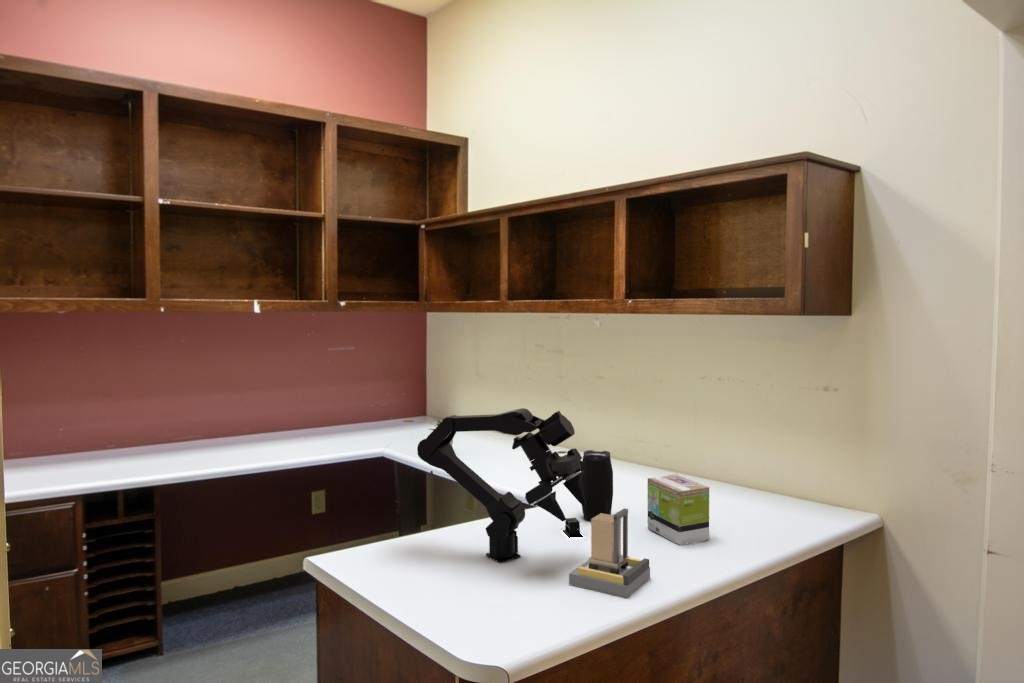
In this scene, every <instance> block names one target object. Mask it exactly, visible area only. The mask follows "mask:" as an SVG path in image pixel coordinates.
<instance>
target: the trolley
mask: <svg viewBox="0 0 1024 683" xmlns="http://www.w3.org/2000/svg"><path fill="white" fill-rule="evenodd" d="M628 516H629V508H622V509H621V510H619V511H618V512H616V513H614V514H611V515H608V514H602V513H600V514H599V515H597V516H595V517H594V518H592V519H590V523H591V525H590V526H591V528H590V532H591V534H590V538H591V539H590V542H591V544H590V546H591V547H590V548H591V551H590V555H591V556H589V557H588V559H587V561H588V563H590V564H589V569H594V570H597V569H598V565H601V566H606V567H611V568H610V573H612V574H617V575H618V574H619V572H620V571H619V568H620V567H621V568H622V569H625V568H627V567H628V561H629V557H630V556H629V555H628V553H629V552H628V551H629V550H628V548H629V547H628V545H629V543H628V542H629V541H628V540H629V539H628V534H629V532H628V531H629V528H628V525H629V523H628V520H629V518H628ZM621 521H622V522H621ZM621 541H622V542H621ZM621 543H622V544H621ZM621 552H622V553H621Z"/></svg>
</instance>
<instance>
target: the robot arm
mask: <svg viewBox="0 0 1024 683" xmlns="http://www.w3.org/2000/svg"><path fill="white" fill-rule="evenodd" d="M436 427H437V428H436ZM436 427H435V428H434V429H435V430H434V431H433V430H432V431H431V432H430V433H429V434H428V436H426V438H424V439H422V440H420V441H419V442H418V444H417V447H416V448H417V456H418V457H419V459H421V461H423V462H424V463H427V464H428V465H430V466H432V467H434V468H437V469H440V470H442V471H444V472H445V473H446V474H448V475H449V477H451V478H452V479H453V480H454V481H455V482H456V483H458V484H459V485H460V486H461V487H462V488H463V489H464V490H466V491H467V492H468V493H469V494H470V495H471V496H472V497H474V498H475V499H476V500H477V501H478V502H479V503H481V505H483V506H484V507H485V509H486V512H487V514H488V516H489V519H491V520H492V521H491V522H490V523H489V525H487V526H486V527H485V531H486V534H487V537H489V539H488V540H489V542H488V545H489V546H488V548H489V550H488V551H489V552H487V553H485V556H486V557H488V558H490V559H491V558H492V559H491V560H493V559H494V561H496V562H498V563H505V562H509V561H511V560H515V559H518V558H519V559H520V558H521V556H522V555H521V554H520V553H518V552H519V537H518V536H517V535H518V534H517V531H516V529H518V528H519V525H520V524H521V523H522V522H523V521H524V520H525V517H526V510H525V509H526V508H525V506H523V504H522V500H521V499H519V498H516V497H515V496H514V495H513V493H512V492H511V491H507V492H506V493H504V494H503V493H500V492H498V491H497V490H496V489H495V488H493V487H492V486H491V485H490V484H489V483H488V482H487V481H486V480H484V479H483V478H482V477H481V476H479V474H477V473H476V472H475V471H474V470H473V469H472V468H470V467H469V466H468V465H467V464H466V463H465V462H463V460H461V459H460V458H459V457H458V456H457V454H456V453H455V450H454V448H453V445H452V446H451V445H450V442H451V441H452V440H453V439H454V438H455V436H456V434H457V432H487V431H488V432H489V431H492V432H498V433H502V434H506V435H512V436H516V437H513V443H512V447H511V449H512V450H516V449H518V448H519V447H521V449H522V451H523V453H524V455H526V457H527V460H528V461H529V462H530V465H531V466H530V467H529V470H530V471H531V472H533V471H534V470H535V472H536V474H537V475H538V478H539V480H540V481H538V485H535V486H534V487H533V488H530V490H528V491H527V492H525V496H524V497H525V498H524V499H525V500H526V502H527V504H528V505H529V506H531V505H532V504H533V506H534V507H536V506H538V507H539V508H541V509H542V510H545V511H546V512H548V513H549V514H550V515H552V516H554V517H556V518H557V519H559V520H560V521H561V522H565V521H566V518H567V517H566V516H565V514H564V512H563V509H562V508H561V506H560V505H559V502H558V501H557V499H556V498H557V497H556V495H557V491H556V490H555V491H553V488H554V487H555V486H557V485H558V484H560V483H561V482H562V481H564V482H562V485H563V486H564V487H565V488H566V489H567V491H568V492H570V493H571V495H572V496H573V497H574V498H575V499H576V500H577V502H579V504H580V505H581V506H582V505H585V504H586V500H585V496H584V492H583V488H582V482H581V479H582V475H583V473H584V471H582V472H581V470H583V469H584V468H586V467H585V465H584V464H583V462H582V460H583V456H582V455H581V453H580V451H579V450H578V449H577V448H571V449H568V451H566V454H564V455H562V456H561V455H559V452H557V451H553V452H552V450H551V449H550V447H549V446H550V445H551V447H557V446H559V445H560V444H561V443H563V442H565V441H567V440H568V439H570V438H571V437H572V436H574V435H575V428H574V426H573V424H572V422H571V420H569V419H568V418H567V417H566V416H565V415H563V414H562V412H561V411H560V410H558V411H555V412H554V413H553V414H551V416H549V417H547V418H546V419H543V418H540V417H538V416H535V415H533V413H532V411H530V410H529V409H528V408H517V409H513V410H509V411H505V412H501V413H496V414H495V413H494V414H472V415H470V414H469V415H467V414H466V415H456V414H452V415H449V416H446V417H444V418H443V419H442V420H441V423H439V426H436ZM537 430H538V431H537ZM535 431H537V432H536V433H533V432H535ZM524 433H526V434H524ZM521 434H524V435H523V436H521V437H520V435H521Z"/></svg>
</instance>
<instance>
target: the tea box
mask: <svg viewBox="0 0 1024 683" xmlns="http://www.w3.org/2000/svg"><path fill="white" fill-rule="evenodd" d="M647 529H649V530H650V531H653V532H654V533H657V534H659V535H660V536H662V537H664V538H665V539H668V540H669V541H671V542H673V543H675V544H676V543H677V544H676V545H678V544H679V545H678V546H683V545H682V544H686V545H688V544H687V543H691V544H695V543H694V542H697V543H700V542H699V541H702V542H705V541H706V540H707V541H709V540H710V486H707V485H705V484H702V483H698V482H696V481H694V480H692V479H689V478H686V477H683V476H680V475H678V474H669V475H664V476H657V477H650V478H649V477H648V478H647Z"/></svg>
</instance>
